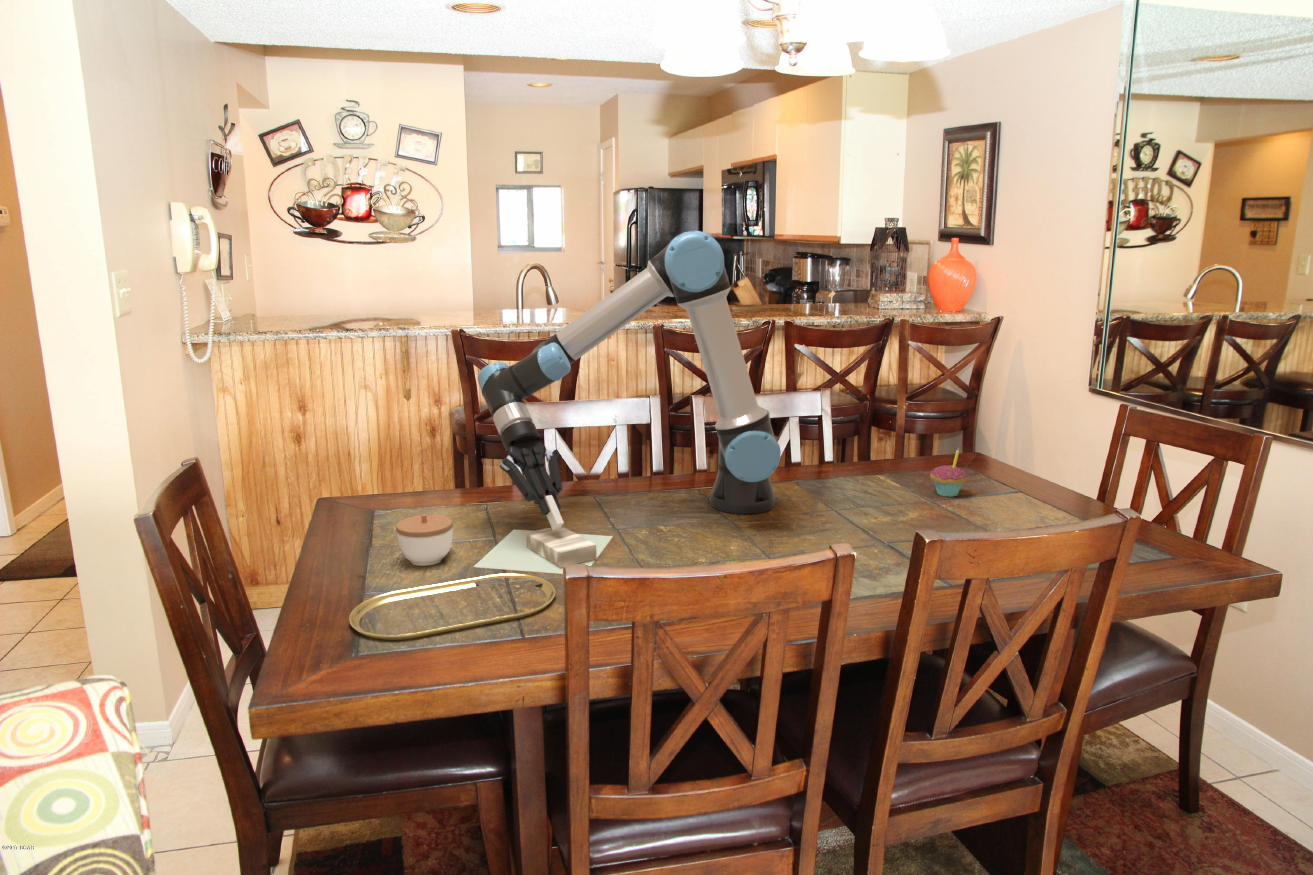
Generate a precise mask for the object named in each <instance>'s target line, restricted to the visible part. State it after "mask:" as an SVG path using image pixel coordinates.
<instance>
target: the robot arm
mask: <svg viewBox="0 0 1313 875" xmlns="http://www.w3.org/2000/svg"><path fill="white" fill-rule="evenodd" d="M731 289H732V287H731V284H730V281H729V276H728V274H727V270H726V267H725V255H724V252H723V249H722V247H721V245H720V243H719V242H718V241H717V240H716V238H714V237H713V236H712V235H710V234H708V233H707V232H704V231H701V230H689V231H684V232H681V233H678V234H677V235H676V236H674V238H672V239H671V240H670V241H669V243H667V245H666V246H665V247H664V248H663V249H662V250H660V251H659V253H657V254H656V255H654V257H652V258H651V259H650V260H648V261H647V265H646V268H645V269H644V270H642V271H640V272H639V273H638V274H636V275H635V276H633V277H632V278H631V279H630V280H628V281H626V282H625V283H623V284H622V285H621V286H619V287H618V288H617V289H615V290H614V291H613V292H611V293H610V294H609V295H607V296H606V297H605V298H602V299H601V300H600V301H599V302H597V303H596V304H594V305H593V306H592V307H591V308H589V309H588V310H587V311H585V312H584V313H582V314H581V315H580V316H578V317H577V318H575V319H574V320H573V321H571V322H569V323H568V324H567V325H565V326H564V327H563V328H561V329H560V330H558V331H557V332H556V333H555V334H553V335H552V336H550V337H549V338H548V339H546V340H545V341H542V342H541V343H539V344H538V345H536V346H535V347H534V349H533V350H532V352H531V353H530V354H528V355H527V356H526V357H524V358H522V359H521V360H519V361H517V362H516V363H514V364H512V365H508V364H507V363H506V362H503V361H497V362H494V363H492V364H491V363H488V365H485V366H484V367H483V368H482V369H481V370H480V371H479V373H478V374H477V375H478V376H477V383H478V386H479V388H480V392H481V396H482V397H483V399H484V401H485V403H486V406H487V408H488V410H489V413H490V415H491V418H492V420H493V423H494V424H495V427H496V430H497V432H498V435H499V436H500V440H501V443H502V444H503V447H504V449H505V451H506V457H503V459H502V461H501V463H500V464H499V468H500V469H501V470H503V471H504V472H505V473H506V474H507V475H508V476H509V478H510V479H511V480H512V482H513V483H514V485H515V486H516V487H517V490H518V491H519V492H520V493H521V495H522V496H523V498H524V499H525V501H526V502H531V501H532V502H533V503H534V505H537V506H538V508H539V510H540V512H541V514H542V515H543V516H546V518H547V520H548V523H549V525H550V528H551V527H552V530H553V531H554V530H558V529H560V528H561V526H564V523H565V522H564V520H563V517H562V516H561V512H560V510H562V509H561V508H562V507H561V504H560V502H559V501H560V500H558V496H559V495H560V493H561V492H562V490H563V485H562V479H561V472H560V469H559V468H560V467H559V462H558V458H559V455H560V454H559V450H557V449H553V451H552V450H549V449H547V447H546V446H545V445H544V443H542V440H541V437H540V434H539V432H538V430H537V427H536V424H535V423H534V420H533V418H532V416H531V413H530V411H529V409H528V407H527V405H526V402H525V399H527V398H529V397H530V396H532V395H533V394H535V393H537V392H539V391H541V390H543V389H544V388H547V386H548V387H549V385H552V384H553V383H555V382H558V381H560V380H561V379H562V378H564V377H565V376H566V375H569V373H570V372H571V370H572V367H571V365H572V364H573V363H574V362H576V361H577V360H579V359H580V358H581V357H583V356H585V355H586V354H587V353H589V352H591V350H593V349H594V348H595V347H597V346H598V345H600V344H601V343H603V342H604V341H605V340H606V339H608V338H609V337H611V336H612V335H614V334H616V333H617V332H618V331H619V330H621V329H622V328H624V327H626V326H627V324H629V323H630V322H632V321H633V320H635V319H636V318H638V317H639V316H641V315H642V314H644V313H645V312H646V311H648V310H649V309H650V308H653V306H655V305H656V304H658V303H660V302H661V301H662V300H664V299H665V298H666V297H672V298H675V301H676V304H677V306H679V307H681V308H683V309H685V310H686V312H687V316H688V320H689V322H690V325H691V328H692V332H693V336H694V339H695V341H696V344H697V345H696V346H697V348H698V351H699V355H700V358H701V361H702V365H703V367H704V371H705V374H706V377H707V378H706V379H707V380H708V384H709V386H710V387H709V388H710V391H711V394H712V396H713V400H714V404H715V407H716V410H717V413H718V419H717V420H716V423H715V424H714V427H715V430H716V434H717V438H718V466H717V467H718V469H717V470H718V471H717V475H716V478H715V481H714V483H713V486H712V489H711V493H710V506H711V507H712V508H714V509H716V510H719V511H721V512H725V513H731V514H744V515H745V514H748V515H749V514H751V515H752V514H760V513H764V512H767V511H771V510H772V509H774V508H775V506H776V494H775V491H774V488H773V485H772V482H771V476H772V475H773V474H774V473H775V471H777V468H778V467H779V466H780V465H779V464H780V461H781V447H780V444H779V442H778V441H777V439H776V436H775V434H774V430H773V426H772V423H771V418H770V417H771V414H770V412H769V410H768V409H766V408H763V407H761V406H760V405H759V403H758V401H757V398H756V395H755V394H756V393H755V391H754V387H753V385H752V381H751V377H750V374H749V370H748V367H747V363H746V360H745V357H744V354H743V351H742V347H741V342H740V340H739V337H738V332H737V330H736V327H735V323H734V320H733V317H732V312H731V309H730V306H729V303H728V300H727V297H728V295H729V293H730V291H731ZM544 459H545V460H546V462H547V463H548V464H547V466H548V467H547V468H548V471H547V468H546V466H545V465H546V464H545V461H544ZM518 467H519V468H520V469H519V468H518ZM548 472H549V473H548Z"/></svg>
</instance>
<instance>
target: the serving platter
mask: <svg viewBox="0 0 1313 875" xmlns="http://www.w3.org/2000/svg"><path fill="white" fill-rule="evenodd" d="M505 578H507V579H509V578H514V579H515V578H516V579H517V578H519V579H527V580H532V581H536V582H538V583H540V584H536V585H534V587H537V588H538V587H539V589H540V590H542V592H544V593H545V595H546V599H545V602H544V603H543V604H542V605H540V606H538V607H535V608H533V609H530V610H527V611H523V612H518V613H512V614H509V615H503V616H497V617H492V618H487V619H483V620H475V621H472V622H466V623H462V624H460V623H459V624H456V625H451V626H445V627H439V628H434V629H430V630H424V631H419V632H412V633H405V634H404V633H402V634H379V633H372V632H367V631H365V630H364V629H362V628H361V626H360V620H361V618H362V617H363V616H364V615H365V614H366V613H368V611H371V610H372V609H375V608H376V607H378V606H381V605H384V604H388V603H390V602H395V601H400V600H405V599H411V598H417V597H423V596H428V595H436V594H439V593H440V594H441V593H447V592H453V591H457V590H458V591H459V590H463V589H469V588H477V587H480V585H479V584H478V583H477V582H481V581H485V580H493V579H505ZM555 596H556V588H555V587H554V585H553V584H552V583H551V582H550V581H548V580H547V579H544V578H542V577H539V576H536V575H532V574H531V575H530V574H524V573H498V574H497V573H496V574H488V575H484V576H483V575H482V576H476V577H472V578H466V579H460V580H454V581H447V582H442V583H435V584H429V585H423V586H418V587H413V588H412V587H411V588H406V589H399V590H395V591H394V590H393V591H390V592H386V593H383V594H379V595H376V596H374V597H371V598H369V599H367V600H364V601H362V602H361V603H359V604H358V605H357V606H355V607H354V608H353V609H352V610H351V612H350V614H349V615H348V621H349V625H350V626H351V627H352V629H354V630H355V631H356V632H358V633H359V634H361V635H363V636H366V637H370V638H373V639H379V640H387V641H388V640H389V641H390V640H391V641H395V640H396V641H397V640H398V641H399V640H409V639H416V638H417V639H418V638H421V637H428V636H433V635H437V634H443V633H447V632H454V631H458V630H463V629H464V630H465V629H468V628H469V629H470V628H474V627H478V626H485V625H490V624H495V623H498V622H499V623H500V622H504V621H510V620H515V619H516V620H517V619H520V618H524V617H527V616H531V615H534V614H536V613H538V612H540V611H541V610H543V609H545V608H546V607H547V606H549V605H550V603H552V601H553V599H554V598H555Z"/></svg>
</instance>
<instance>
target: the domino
mask: <svg viewBox="0 0 1313 875" xmlns="http://www.w3.org/2000/svg"><path fill="white" fill-rule="evenodd" d="M531 531H532V532H528V533H526V546H527V548H529V549H531V550H532V551H534V552H536V553H537V554H539V555H540V556H542V557H544V558H545V559H547V560H549V561H550V562H552V563H554V564H555V565H557V566H558V567H560V568H562V567H564V566H565V565H568V564H578V563H582V562H586V561H590V560H594V559H596V560H598V557H597V555H596V544H595V543H593V542H591V541H589V540H587V539H585V538H583V537H582V536H580V535H578V534H579V533H576V532H575V531H573V530H570V529H569V528H567V527H565V526H564V525H562V526H561V528H560V529H558V530H554V531H553V530H552V527H551V526H550V527H547V528H541V529H537V530H531Z"/></svg>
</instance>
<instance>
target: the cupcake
mask: <svg viewBox="0 0 1313 875" xmlns="http://www.w3.org/2000/svg"><path fill="white" fill-rule="evenodd" d="M959 455H960V447H958V448H957V450H956V451H955V455H954V459H953V464H952V465H948V464H946V465H945V464H944V465H938V466H936V467H934V468H933V469H931V471H930V474H929V477H930V480H931V481H932V482H933V483H934V485H935V489H936V493H937V495H938V496H942V497H947V498H948V497H949V498H950V497H951V498H952V497H957V496H958V495H959V492H960V490H961V487H962V486H963V484H966V482H967V478H968V474H967V472H965V470H963V469H962V468H960V467H959V466H957V461H958V458H959Z"/></svg>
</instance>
